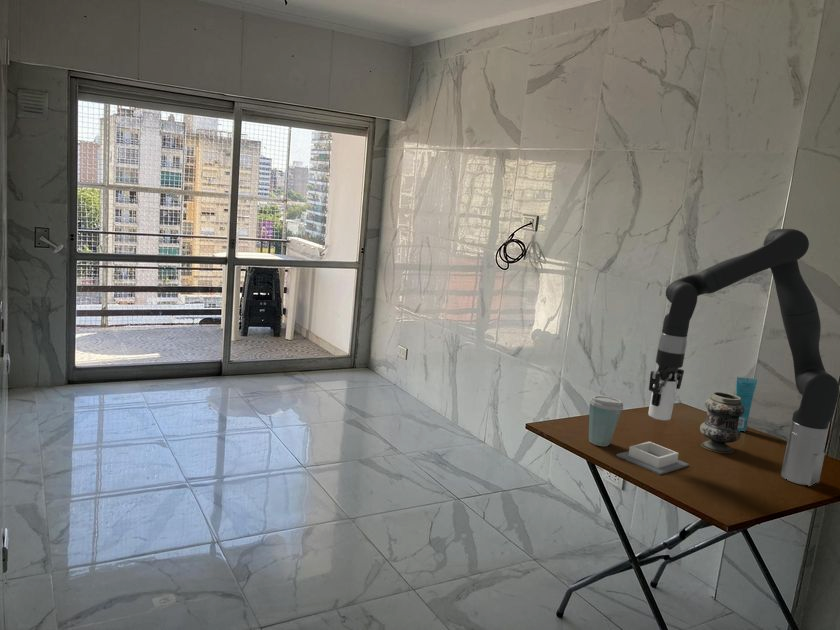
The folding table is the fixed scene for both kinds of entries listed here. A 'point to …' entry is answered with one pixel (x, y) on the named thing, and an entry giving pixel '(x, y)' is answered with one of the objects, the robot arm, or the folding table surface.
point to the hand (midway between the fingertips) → (661, 404)
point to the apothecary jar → (721, 422)
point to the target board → (653, 458)
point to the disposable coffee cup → (603, 419)
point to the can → (664, 402)
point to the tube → (745, 398)
